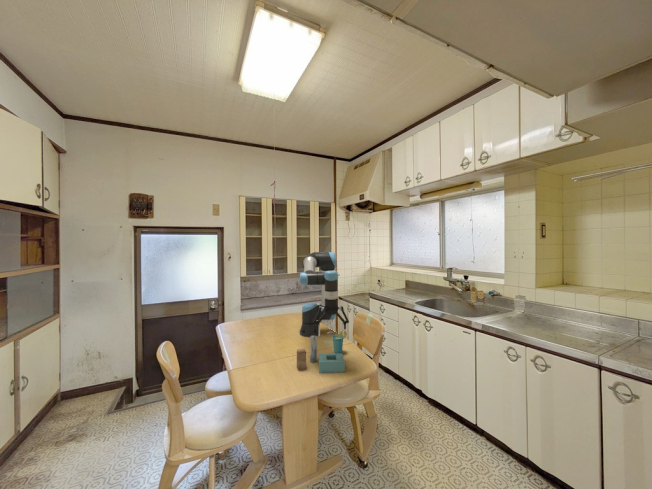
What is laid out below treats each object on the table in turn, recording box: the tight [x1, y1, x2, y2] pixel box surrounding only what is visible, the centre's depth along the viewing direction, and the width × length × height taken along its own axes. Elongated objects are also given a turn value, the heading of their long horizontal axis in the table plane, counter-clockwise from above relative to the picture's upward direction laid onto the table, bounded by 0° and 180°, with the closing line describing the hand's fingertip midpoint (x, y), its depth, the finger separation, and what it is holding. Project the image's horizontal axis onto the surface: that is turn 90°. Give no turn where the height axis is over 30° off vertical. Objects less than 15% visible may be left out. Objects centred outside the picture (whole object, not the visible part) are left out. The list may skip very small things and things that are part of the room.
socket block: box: [318, 352, 346, 374], centre depth 143 cm, size 10×14×6 cm
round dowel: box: [309, 335, 318, 363], centre depth 152 cm, size 4×4×15 cm
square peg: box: [296, 348, 307, 371], centre depth 143 cm, size 4×4×10 cm
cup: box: [326, 330, 348, 354], centre depth 163 cm, size 14×8×15 cm, turn 119°
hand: (331, 335), depth 143 cm, fingers open, 13 cm apart
